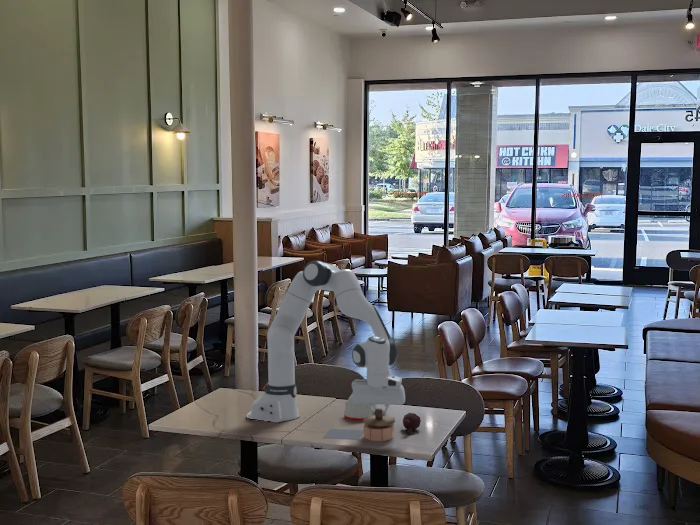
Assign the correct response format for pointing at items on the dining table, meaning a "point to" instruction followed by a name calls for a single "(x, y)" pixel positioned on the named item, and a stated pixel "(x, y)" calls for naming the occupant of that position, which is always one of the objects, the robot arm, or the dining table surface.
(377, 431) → the bowl
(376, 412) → the lid
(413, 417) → the icecream
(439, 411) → the dining table surface
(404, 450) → the dining table surface
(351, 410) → the kitchen timer
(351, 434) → the mat
